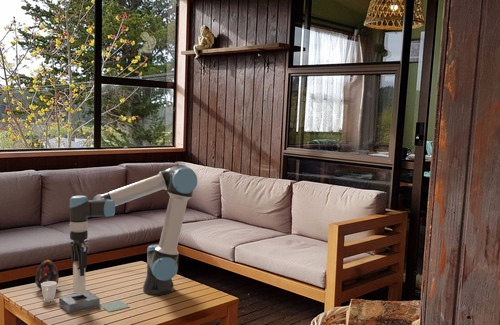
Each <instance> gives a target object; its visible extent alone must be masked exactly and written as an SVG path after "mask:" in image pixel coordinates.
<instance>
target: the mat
mask: <svg viewBox="0 0 500 325" xmlns="http://www.w3.org/2000/svg"><path fill="white" fill-rule="evenodd" d="M100 307H101V308H102V309H103V310H105V311H106V312H108V313H112V312H115V311H121V310H123V309H124V310H125V309H128V308H130V306H129V305H128V304H126V303H125V302H123V301H121V300H120V299H118V300H114V301H110V302H105V303H101V304H100Z"/></svg>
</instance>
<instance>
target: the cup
mask: <svg viewBox="0 0 500 325" xmlns="http://www.w3.org/2000/svg"><path fill="white" fill-rule="evenodd" d="M57 285H58V284H57V283H56V282H54V281H47V282H43V283H42V284H41V288H42V291H41V293H42V296H43V301H44V302H45V303H50V301H51V302H53V301H55V299H54V298H55V296H56V291H57V287H58V286H57Z"/></svg>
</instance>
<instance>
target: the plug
mask: <svg viewBox="0 0 500 325" xmlns="http://www.w3.org/2000/svg"><path fill="white" fill-rule="evenodd" d="M77 268H79V262H78V261H74V262H73V263H72V276H73V277H72V278H73V280H72V281H73V283H72V285H73V287H72V288H73V294H80V293H85V292H86V291H87V290H86V281H85V282H83V283H78V269H77Z"/></svg>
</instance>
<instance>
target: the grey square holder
mask: <svg viewBox="0 0 500 325" xmlns="http://www.w3.org/2000/svg"><path fill="white" fill-rule="evenodd" d="M100 303H101V298H100V297H99V296H97V295H96V294H95V293H93V292H91V291H90V290H88V291H87V290H86V292H85V293H80V294H76V293H72V294H67V295H62V296H59V298H58V305H59V307H60V306H61V307H60V308H62V310H64V311H65V312H67V313H68V314H74V313H79V312H83V311H87V310H92V309H96V308H100V307H101V306H100Z"/></svg>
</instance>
